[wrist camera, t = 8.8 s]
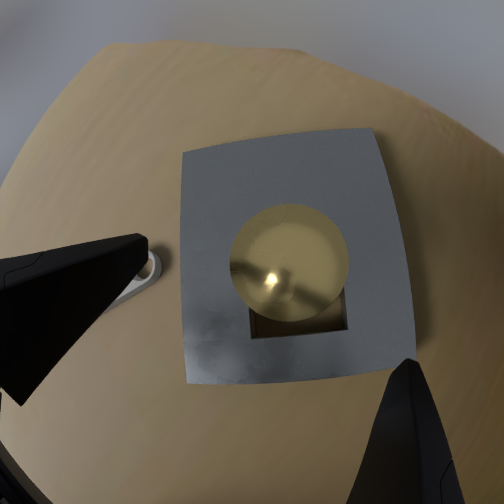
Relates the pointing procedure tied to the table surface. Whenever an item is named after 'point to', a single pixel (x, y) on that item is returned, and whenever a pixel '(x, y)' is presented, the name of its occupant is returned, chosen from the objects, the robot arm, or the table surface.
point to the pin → (289, 262)
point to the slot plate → (314, 196)
